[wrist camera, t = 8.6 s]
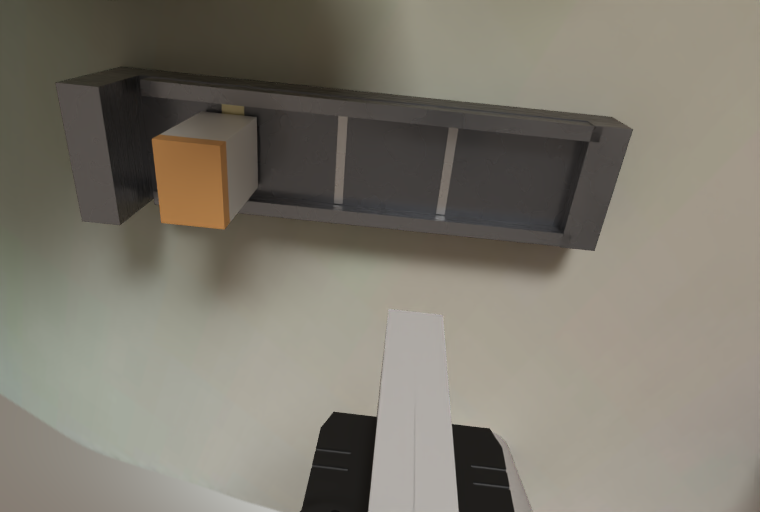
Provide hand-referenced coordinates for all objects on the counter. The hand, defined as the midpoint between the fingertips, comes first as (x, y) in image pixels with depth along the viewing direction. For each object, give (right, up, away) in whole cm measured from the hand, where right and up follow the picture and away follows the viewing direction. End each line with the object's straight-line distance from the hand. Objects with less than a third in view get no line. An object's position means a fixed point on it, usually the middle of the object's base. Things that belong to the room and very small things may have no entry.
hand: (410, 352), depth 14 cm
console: (-2, +9, +16) cm, 19 cm away
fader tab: (-9, +9, +14) cm, 19 cm away
